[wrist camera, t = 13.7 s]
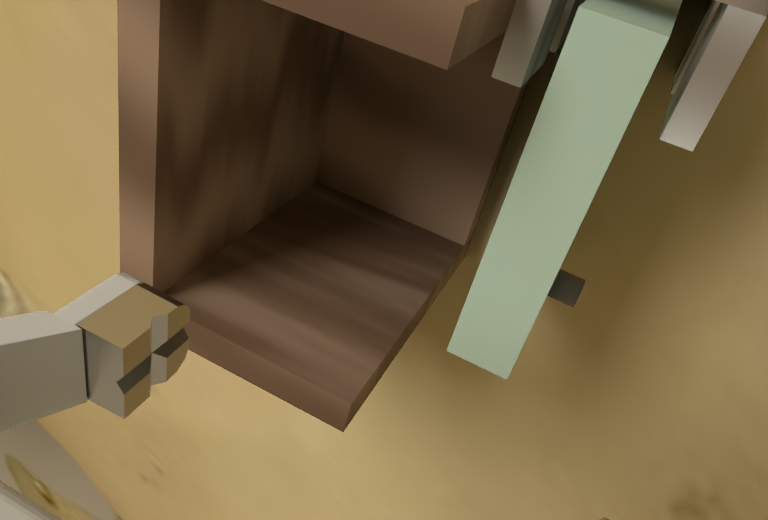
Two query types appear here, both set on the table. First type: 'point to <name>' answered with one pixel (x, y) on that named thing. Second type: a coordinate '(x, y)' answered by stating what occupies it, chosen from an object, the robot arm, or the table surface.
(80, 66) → the table surface
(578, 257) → the table surface
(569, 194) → the door
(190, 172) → the cabinet
